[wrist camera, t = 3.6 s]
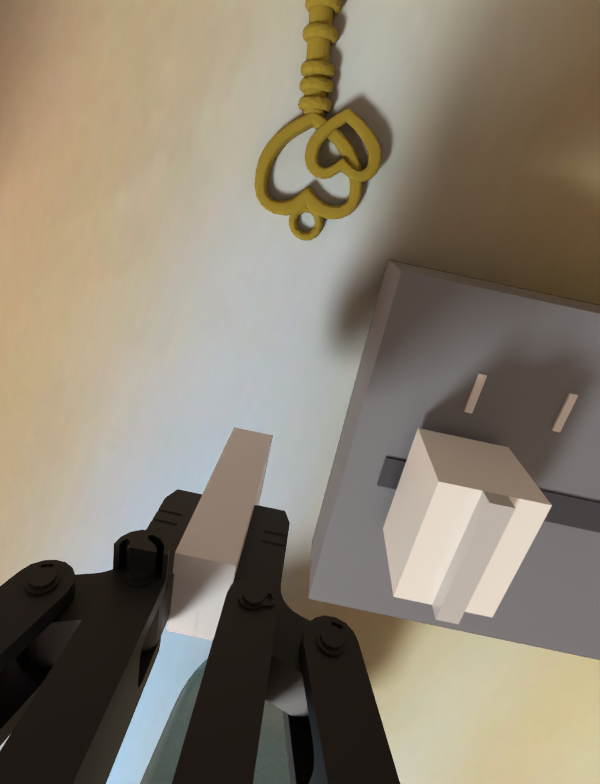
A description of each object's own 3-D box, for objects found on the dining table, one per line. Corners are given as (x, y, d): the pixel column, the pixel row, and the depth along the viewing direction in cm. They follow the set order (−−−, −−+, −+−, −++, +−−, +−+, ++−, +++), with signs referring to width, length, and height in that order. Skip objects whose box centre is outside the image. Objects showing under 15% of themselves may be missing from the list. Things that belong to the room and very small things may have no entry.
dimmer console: (388, 259, 19) (401, 271, 15) (879, 365, 19) (1017, 404, 15) (312, 541, 25) (308, 600, 21) (681, 619, 25) (743, 691, 21)
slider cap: (418, 427, 17) (443, 493, 13) (508, 447, 17) (561, 518, 13) (382, 528, 18) (395, 611, 15) (464, 545, 18) (498, 632, 15)
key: (262, -171, 13) (425, -162, 13) (268, -140, 14) (418, -132, 14) (250, 236, 18) (369, 247, 18) (256, 234, 19) (367, 244, 19)
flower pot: (195, 618, 28) (136, 788, 20) (324, 652, 28) (319, 833, 20) (175, 700, 31) (118, 873, 23) (290, 729, 32) (275, 910, 23)
